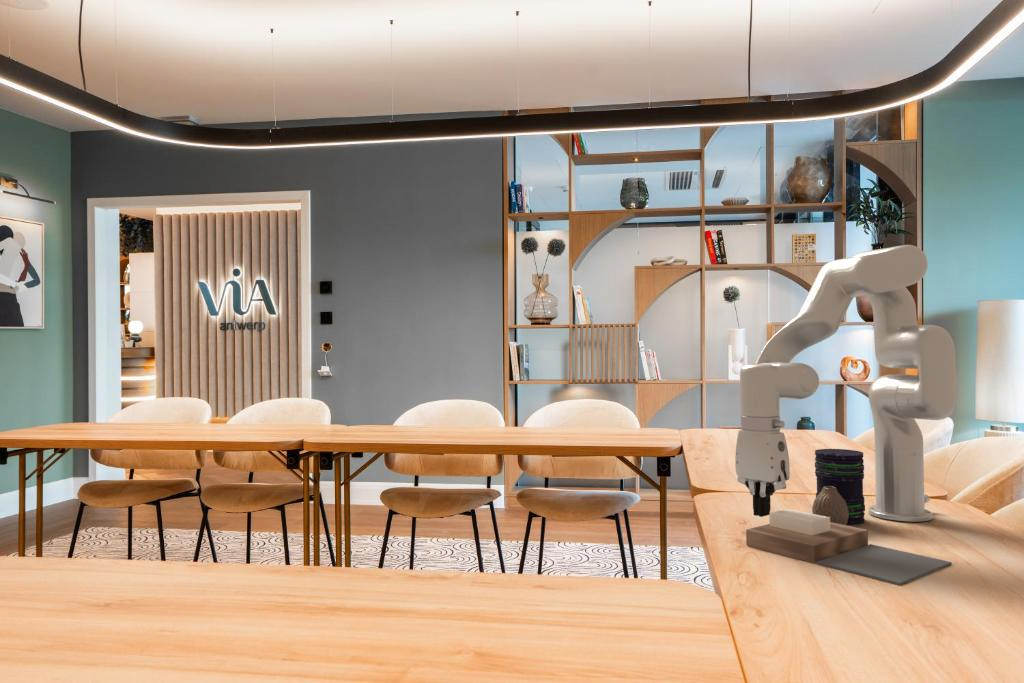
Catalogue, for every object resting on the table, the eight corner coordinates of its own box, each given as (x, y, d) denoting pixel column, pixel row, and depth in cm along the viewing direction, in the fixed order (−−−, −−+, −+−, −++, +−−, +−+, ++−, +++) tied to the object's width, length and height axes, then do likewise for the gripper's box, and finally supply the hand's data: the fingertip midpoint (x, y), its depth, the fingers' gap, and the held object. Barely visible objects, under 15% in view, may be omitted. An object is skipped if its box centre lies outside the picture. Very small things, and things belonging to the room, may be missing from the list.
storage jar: (828, 512, 158) (827, 447, 158) (873, 520, 150) (871, 451, 150) (807, 519, 151) (806, 451, 152) (852, 528, 144) (851, 456, 144)
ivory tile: (787, 521, 138) (787, 508, 138) (830, 530, 131) (830, 517, 131) (769, 525, 135) (769, 513, 135) (812, 535, 127) (812, 522, 127)
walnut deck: (800, 530, 142) (800, 516, 142) (868, 545, 131) (867, 529, 131) (746, 545, 132) (746, 529, 132) (814, 563, 120) (814, 545, 120)
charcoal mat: (870, 546, 130) (870, 544, 130) (951, 564, 119) (951, 562, 119) (817, 563, 120) (816, 561, 120) (899, 585, 109) (899, 582, 109)
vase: (805, 527, 145) (804, 485, 145) (828, 523, 148) (827, 482, 148) (832, 535, 139) (831, 491, 139) (856, 531, 141) (855, 488, 142)
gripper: (804, 426, 136) (806, 519, 135) (740, 420, 148) (742, 506, 148) (781, 429, 132) (783, 525, 131) (718, 423, 144) (719, 511, 143)
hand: (761, 515), depth 139 cm, fingers closed
